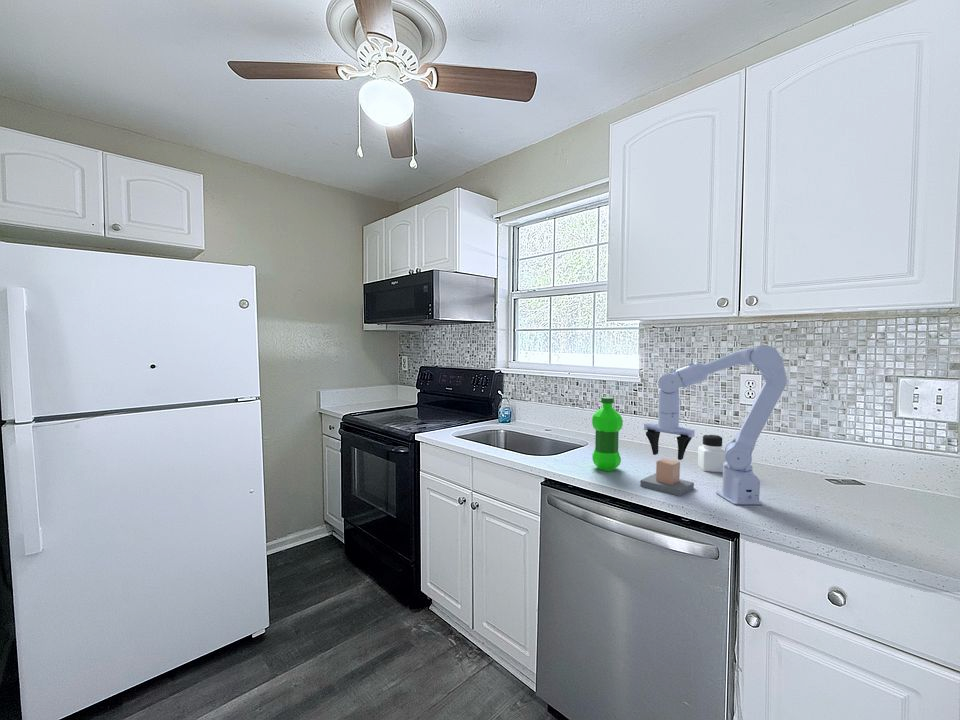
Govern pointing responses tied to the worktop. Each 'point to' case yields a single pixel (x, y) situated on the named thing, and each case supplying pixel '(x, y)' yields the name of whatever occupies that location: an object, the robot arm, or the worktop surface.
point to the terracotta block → (668, 471)
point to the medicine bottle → (711, 454)
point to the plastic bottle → (606, 436)
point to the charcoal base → (667, 485)
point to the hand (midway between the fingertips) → (667, 456)
